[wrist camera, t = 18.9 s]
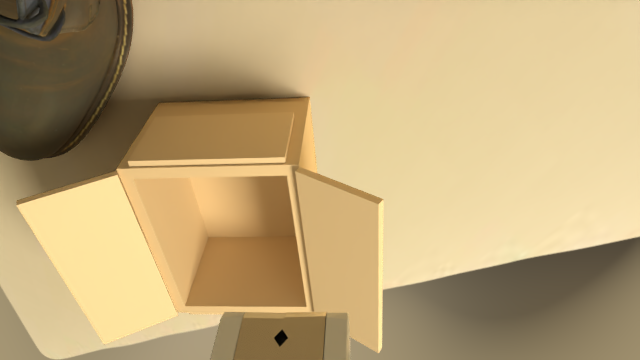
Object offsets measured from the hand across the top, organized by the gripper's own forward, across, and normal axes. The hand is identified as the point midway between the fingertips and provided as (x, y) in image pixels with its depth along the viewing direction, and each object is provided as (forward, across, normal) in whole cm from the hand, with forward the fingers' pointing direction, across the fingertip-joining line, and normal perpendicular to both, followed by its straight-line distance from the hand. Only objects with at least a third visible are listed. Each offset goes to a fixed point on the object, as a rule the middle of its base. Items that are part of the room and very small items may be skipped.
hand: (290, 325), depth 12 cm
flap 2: (+21, +3, +20) cm, 29 cm away
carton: (+31, +10, +20) cm, 38 cm away
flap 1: (+21, +16, +20) cm, 33 cm away
